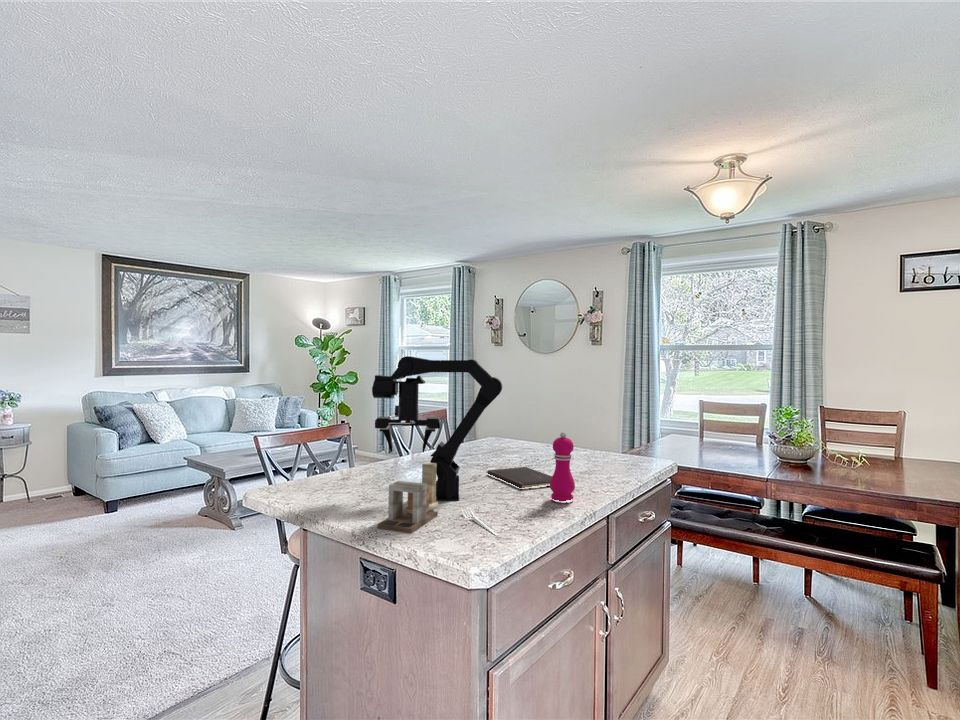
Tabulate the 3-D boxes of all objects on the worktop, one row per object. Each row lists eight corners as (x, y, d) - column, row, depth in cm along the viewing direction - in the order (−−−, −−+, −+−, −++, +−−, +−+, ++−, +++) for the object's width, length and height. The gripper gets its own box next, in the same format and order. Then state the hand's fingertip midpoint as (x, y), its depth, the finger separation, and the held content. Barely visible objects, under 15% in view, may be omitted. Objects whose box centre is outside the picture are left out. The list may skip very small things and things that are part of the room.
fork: (493, 542, 116) (493, 533, 116) (459, 515, 134) (459, 508, 134) (505, 540, 118) (506, 532, 117) (470, 513, 136) (470, 506, 136)
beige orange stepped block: (423, 503, 140) (424, 462, 140) (438, 504, 138) (438, 463, 138) (405, 513, 130) (406, 469, 130) (421, 515, 129) (422, 470, 129)
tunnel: (406, 511, 135) (407, 476, 135) (437, 515, 132) (438, 479, 132) (377, 528, 122) (378, 488, 122) (411, 533, 119) (412, 492, 119)
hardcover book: (525, 473, 188) (525, 466, 188) (563, 487, 168) (563, 480, 168) (486, 476, 181) (487, 470, 181) (521, 492, 160) (521, 484, 160)
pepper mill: (577, 499, 151) (578, 431, 151) (571, 505, 144) (572, 434, 144) (553, 496, 154) (554, 429, 154) (546, 502, 147) (547, 432, 147)
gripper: (440, 397, 160) (439, 447, 160) (379, 396, 158) (378, 447, 158) (440, 400, 149) (439, 454, 149) (375, 399, 147) (374, 453, 147)
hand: (407, 452), depth 151 cm, fingers open, 9 cm apart
